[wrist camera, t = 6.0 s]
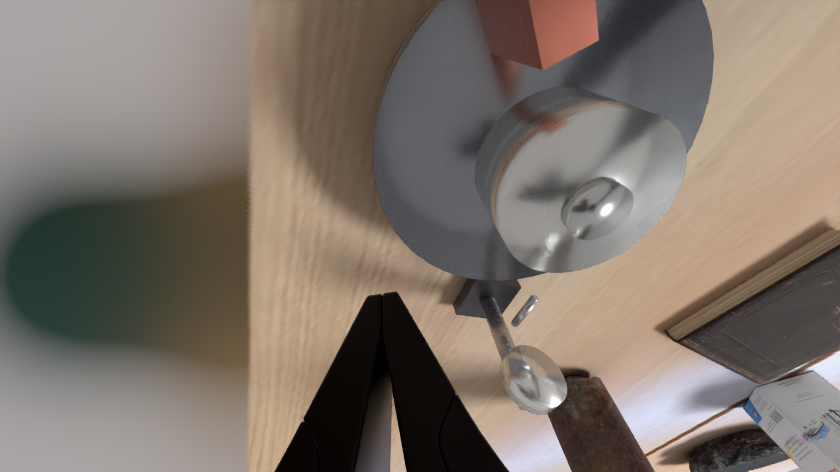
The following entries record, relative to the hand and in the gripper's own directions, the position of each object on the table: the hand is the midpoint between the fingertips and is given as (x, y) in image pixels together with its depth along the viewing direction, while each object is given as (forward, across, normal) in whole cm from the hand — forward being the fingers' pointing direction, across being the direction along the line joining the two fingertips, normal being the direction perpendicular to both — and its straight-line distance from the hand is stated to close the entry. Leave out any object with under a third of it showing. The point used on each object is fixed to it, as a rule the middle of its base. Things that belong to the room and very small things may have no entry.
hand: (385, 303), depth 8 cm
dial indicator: (+11, -7, +11) cm, 17 cm away
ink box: (+11, -55, +46) cm, 73 cm away
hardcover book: (+11, -41, +24) cm, 49 cm away
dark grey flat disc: (+11, -61, +72) cm, 95 cm away
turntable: (+9, -8, 0) cm, 12 cm away
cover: (+7, -8, 0) cm, 11 cm away
